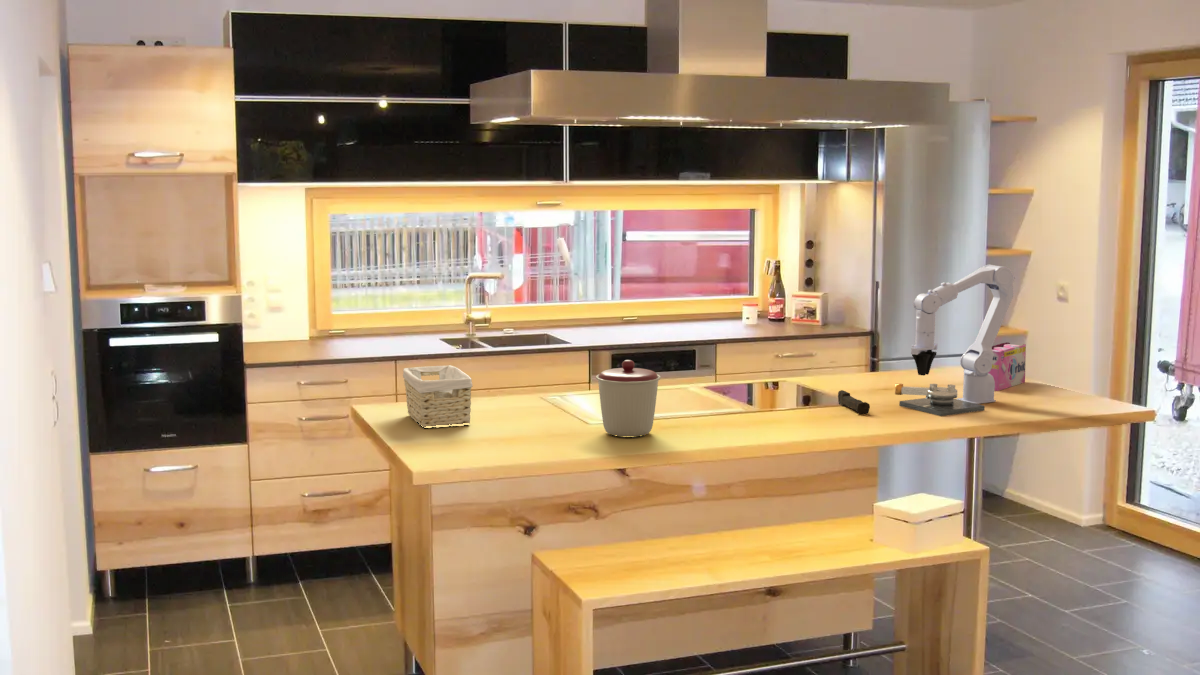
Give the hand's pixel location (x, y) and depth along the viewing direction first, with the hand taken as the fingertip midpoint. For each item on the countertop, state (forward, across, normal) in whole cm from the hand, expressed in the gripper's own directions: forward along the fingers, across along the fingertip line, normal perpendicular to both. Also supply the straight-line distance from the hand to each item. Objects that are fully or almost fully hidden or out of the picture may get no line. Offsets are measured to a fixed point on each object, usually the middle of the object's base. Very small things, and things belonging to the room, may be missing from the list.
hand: (923, 374), depth 370 cm
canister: (+10, +94, -44) cm, 104 cm away
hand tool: (+10, +22, -14) cm, 28 cm away
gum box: (+10, -48, +6) cm, 50 cm away
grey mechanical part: (+6, +5, +3) cm, 9 cm away
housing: (+9, +3, +8) cm, 12 cm away
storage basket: (+10, +117, -98) cm, 153 cm away
